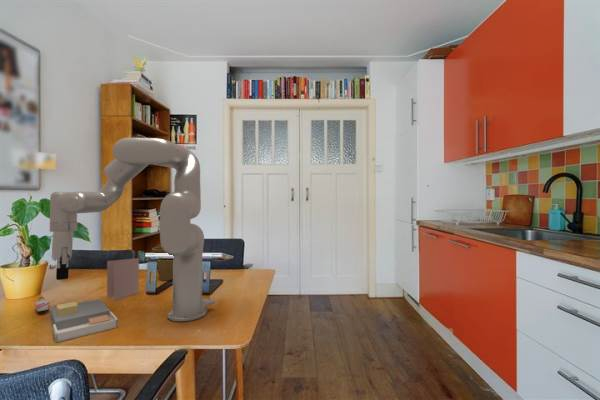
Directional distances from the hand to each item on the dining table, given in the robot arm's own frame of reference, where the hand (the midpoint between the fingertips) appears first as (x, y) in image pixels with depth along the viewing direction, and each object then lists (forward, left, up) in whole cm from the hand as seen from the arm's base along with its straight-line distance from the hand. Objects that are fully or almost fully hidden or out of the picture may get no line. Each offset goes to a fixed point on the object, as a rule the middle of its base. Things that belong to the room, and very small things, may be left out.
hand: (62, 278), depth 104 cm
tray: (-4, +22, -12) cm, 26 cm away
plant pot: (-44, -22, -12) cm, 51 cm away
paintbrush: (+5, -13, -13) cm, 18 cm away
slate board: (-4, +10, -12) cm, 16 cm away
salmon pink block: (-7, +24, -9) cm, 26 cm away
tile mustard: (0, +11, -9) cm, 14 cm away
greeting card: (-20, -5, -12) cm, 24 cm away
